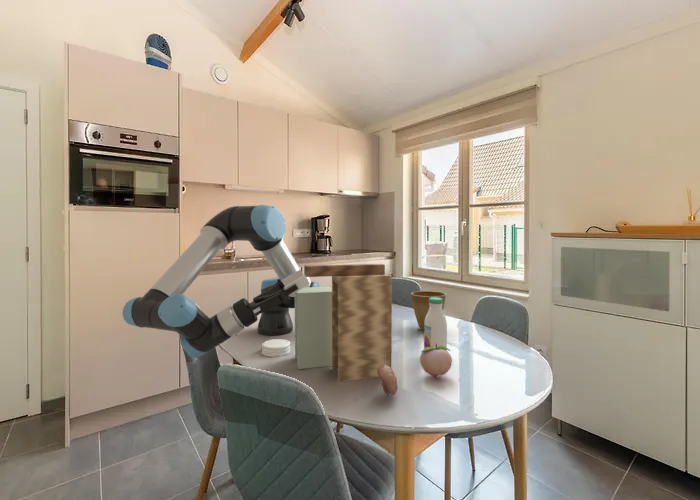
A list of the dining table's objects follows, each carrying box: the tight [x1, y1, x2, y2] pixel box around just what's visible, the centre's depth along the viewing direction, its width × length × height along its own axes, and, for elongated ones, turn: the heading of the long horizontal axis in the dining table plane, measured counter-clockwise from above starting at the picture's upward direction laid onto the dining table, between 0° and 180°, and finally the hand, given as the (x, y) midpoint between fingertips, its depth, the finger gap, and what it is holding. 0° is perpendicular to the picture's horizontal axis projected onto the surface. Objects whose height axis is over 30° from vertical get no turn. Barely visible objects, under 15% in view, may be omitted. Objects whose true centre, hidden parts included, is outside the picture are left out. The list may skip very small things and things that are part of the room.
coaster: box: [261, 338, 291, 358], centre depth 123 cm, size 10×10×4 cm
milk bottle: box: [423, 297, 448, 349], centre depth 119 cm, size 8×8×20 cm
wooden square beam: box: [303, 263, 386, 278], centre depth 102 cm, size 24×3×3 cm, turn 104°
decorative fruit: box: [419, 344, 453, 378], centre depth 101 cm, size 9×8×10 cm
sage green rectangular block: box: [294, 286, 332, 370], centre depth 113 cm, size 12×10×24 cm
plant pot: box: [410, 290, 447, 332], centre depth 151 cm, size 15×15×16 cm
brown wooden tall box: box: [331, 273, 393, 382], centre depth 104 cm, size 16×10×30 cm, turn 104°
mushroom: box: [377, 365, 399, 396], centre depth 89 cm, size 8×6×8 cm
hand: (304, 275), depth 99 cm, fingers open, 13 cm apart
